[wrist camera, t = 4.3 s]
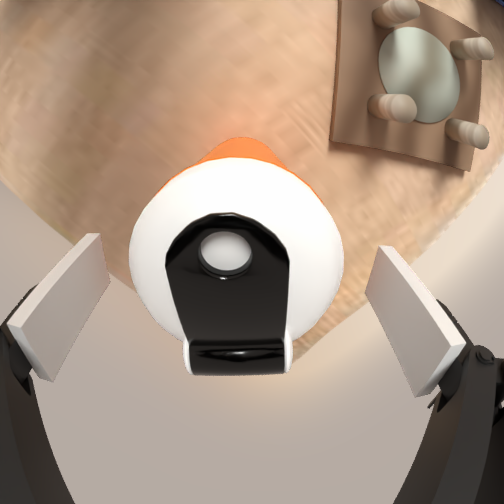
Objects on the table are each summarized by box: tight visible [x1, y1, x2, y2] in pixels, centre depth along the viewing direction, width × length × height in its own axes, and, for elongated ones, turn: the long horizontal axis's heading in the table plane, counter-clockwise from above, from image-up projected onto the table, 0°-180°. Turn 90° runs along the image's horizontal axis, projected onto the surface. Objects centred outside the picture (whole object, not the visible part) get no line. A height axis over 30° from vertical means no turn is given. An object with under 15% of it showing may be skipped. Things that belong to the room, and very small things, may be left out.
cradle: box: [329, 0, 494, 172], centre depth 18 cm, size 18×18×6 cm
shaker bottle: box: [129, 137, 344, 376], centre depth 18 cm, size 9×9×20 cm
